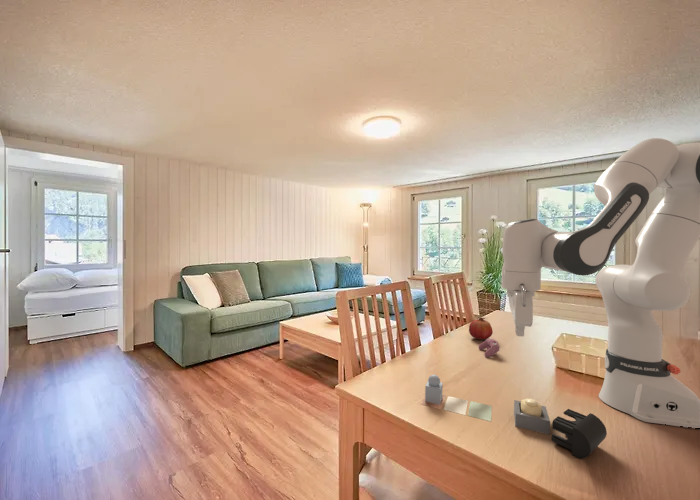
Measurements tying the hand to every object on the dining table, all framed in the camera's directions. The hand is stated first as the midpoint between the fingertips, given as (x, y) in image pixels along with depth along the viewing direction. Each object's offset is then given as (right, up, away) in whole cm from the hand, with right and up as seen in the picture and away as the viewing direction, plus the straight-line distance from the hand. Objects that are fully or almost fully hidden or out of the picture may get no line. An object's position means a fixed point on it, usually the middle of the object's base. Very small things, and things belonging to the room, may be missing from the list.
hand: (519, 334), depth 80 cm
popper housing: (+1, -21, -4) cm, 22 cm away
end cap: (+6, -22, -12) cm, 26 cm away
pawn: (-21, -20, +6) cm, 29 cm away
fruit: (+17, -20, +63) cm, 68 cm away
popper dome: (+1, -20, -4) cm, 20 cm away
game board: (-15, -21, +4) cm, 26 cm away
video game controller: (+12, -20, +44) cm, 50 cm away
